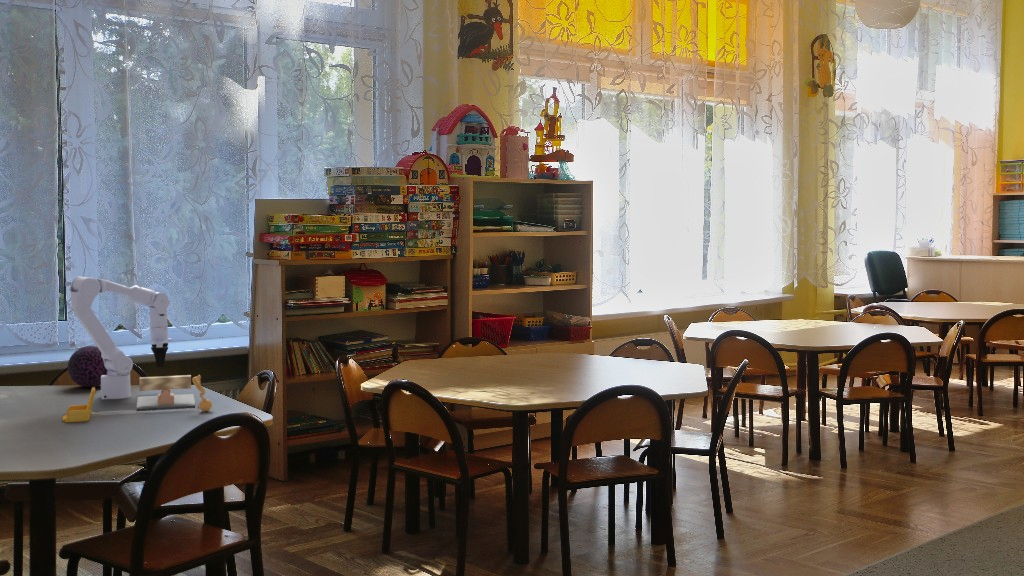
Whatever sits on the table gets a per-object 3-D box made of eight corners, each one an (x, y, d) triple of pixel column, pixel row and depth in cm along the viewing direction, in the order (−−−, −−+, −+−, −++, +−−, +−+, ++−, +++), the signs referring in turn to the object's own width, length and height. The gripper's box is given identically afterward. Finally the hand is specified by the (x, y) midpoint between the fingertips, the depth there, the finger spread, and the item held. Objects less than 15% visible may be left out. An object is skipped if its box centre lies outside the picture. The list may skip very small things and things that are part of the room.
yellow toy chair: (63, 416, 319) (62, 387, 318) (96, 414, 322) (95, 385, 322) (62, 423, 309) (61, 393, 308) (96, 421, 313) (95, 391, 312)
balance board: (136, 411, 327) (136, 394, 326) (138, 400, 346) (137, 384, 345) (195, 408, 333) (194, 391, 332) (193, 397, 351) (193, 381, 351)
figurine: (215, 413, 324) (214, 375, 324) (195, 414, 321) (195, 377, 321) (208, 408, 332) (208, 372, 331) (189, 410, 329) (189, 373, 328)
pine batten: (139, 391, 332) (139, 378, 332) (139, 389, 335) (139, 377, 334) (191, 388, 337) (191, 376, 337) (191, 386, 340) (190, 375, 340)
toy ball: (102, 390, 364) (101, 349, 363) (60, 390, 364) (59, 348, 363) (119, 383, 379) (118, 343, 378) (79, 383, 379) (78, 343, 378)
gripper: (171, 328, 348) (172, 367, 349) (171, 323, 362) (172, 361, 363) (149, 329, 346) (151, 369, 347) (149, 324, 360) (151, 362, 361)
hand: (160, 365), depth 355 cm, fingers open, 7 cm apart
